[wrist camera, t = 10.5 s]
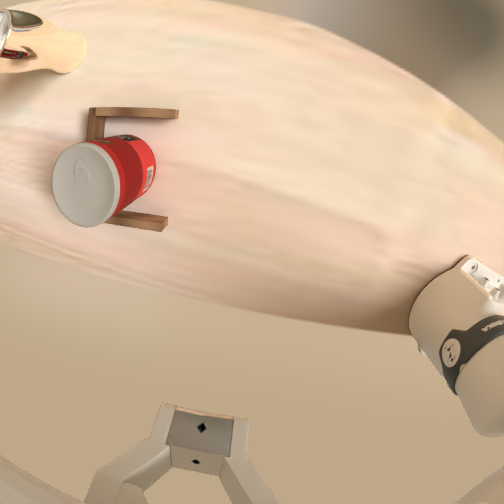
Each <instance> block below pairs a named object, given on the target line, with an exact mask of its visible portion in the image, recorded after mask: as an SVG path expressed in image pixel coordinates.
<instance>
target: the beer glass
mask: <svg viewBox="0 0 504 504" xmlns="http://www.w3.org/2000/svg"><path fill="white" fill-rule="evenodd" d="M86 50H87V41H86V38H85V36H84V35H83V34H82V33H80V32H75V31H64V30H61V29H60V28H58V27H57V26H55V25H54V24H52V23H51V22H49V21H48V20H46V19H44V18H42V17H40V16H38V15H35V14H32V13H29V12H24V11H18V10H9V9H0V73H21V72H27V71H33V70H39V69H50V70H53V71H55V72H57V73H61V74H65V73H69V72H71V71H73V70H74V69H75V68H76V67H77V66H78V65H79V64H80V63H81V62H82V60H83V58H84V56H85V53H86Z"/></svg>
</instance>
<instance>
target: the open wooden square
mask: <svg viewBox="0 0 504 504" xmlns="http://www.w3.org/2000/svg"><path fill="white" fill-rule="evenodd" d="M178 113H179V110H174V109H158V108H130V107H96V108H89V118H88V129H87V141H90V140H96V139H101V138H104V127H105V116H137V117H157V118H176V119H178ZM167 222H168V217H164V216H157V215H150V214H143V213H136V212H129V211H122V210H121V211H119V212H118V213H117V214H115V215H114V216H113V217H111V218H110V219H108V220H107V221H105V222H104V223H108V224H114V225H120V226H127V227H133V228H139V229H146V230H152V231H158V232H162V230H163V229H164V228H165V227H166V226H167Z"/></svg>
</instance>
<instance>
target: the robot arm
mask: <svg viewBox="0 0 504 504" xmlns="http://www.w3.org/2000/svg"><path fill="white" fill-rule="evenodd" d="M409 329H410V332H411V334H412V336H413V337H414V338H415V339H416V340H417V342H418V350H419V352H420V353H421V354H422V355H423V356H426V355H427V357H428V358H429V359H430V361H431V362H432V363H433V365H434V366H435V368H436V369H437V371H438V372H439V373H440V375H441V376H443V377H445V379H446V381H447V385H448V386H449V388H450V389H451V390H452V392H453V393H454V394H455V395H457V396H459V398H460V400H461V402H462V404H463V407H464V409H465V411H466V413H467V415H468V417H469V418H470V421H471V423H472V425H473V427H474V429H475V430H476V431H477V432H478V433H479V434H481V435H483V436H485V437H500V436H504V276H502V275H501V274H499V273H498V272H496V271H495V270H493V269H491V268H490V267H488V266H487V265H485V264H483V263H482V262H480V261H479V260H477V259H475V258H474V257H472V256H470V255H468V256H466V257H464V258H463V259H462V260H461V261H460V262H459V263H458V264H457V265H456V266H455V267H454V268H452V269H451V270H449V271H447V272H445V273H443V274H441V275H439V276H438V277H436V278H435V279H434V280H433V281H431V282H430V283H429V284H428V285H427V286H426V287H425V288H424V289H423V291H422V292H421V293H420V295H419V296H418V298H417V299H416V301H415V303H414V305H413V307H412V310H411V313H410V317H409ZM248 430H249V420H248V419H244V418H237V417H233V416H226V415H220V414H213V413H207V412H201V411H196V410H192V409H187V408H183V407H179V406H176V405H171V404H167V403H162V405H161V406H160V409H159V412H158V414H157V417H156V420H155V423H154V426H153V429H152V432H151V435H150V438H149V440H148V439H144V440H142V441H141V442H139V443H138V444H137V445H135V446H134V447H132V448H131V449H129V450H128V451H126V452H125V453H123V454H122V455H120V456H119V457H117V458H115V459H114V460H112V461H111V462H109V463H108V464H106V465H104V466H103V467H101V468H100V469H98V470H97V471H96V473H95V475H94V478H93V480H92V483H91V485H90V488H89V490H88V493H87V496H86V498H85V501H84V502H83V501H81V500H79V499H76V498H74V497H72V496H70V495H68V494H66V493H64V492H62V491H60V490H58V489H56V488H54V487H52V486H50V485H48V484H47V483H45V482H43V481H41V480H39V479H37V478H36V477H34V476H32V475H31V474H29V473H27V472H26V471H24V470H22V469H21V468H19V467H18V466H16V465H15V464H13V463H12V462H10V461H9V460H7V459H5V458H4V457H3V456H1V455H0V504H148V503H147V501H146V498H145V496H144V493H143V492H144V491H145V490H146V489H148V488H149V487H150V486H151V485H153V484H154V483H155V482H156V481H157V480H158V479H160V478H161V477H162V476H163V475H164V474H165V473H166V472H168V471H169V470H170V469H171V467H176V468H180V469H185V470H191V471H196V472H200V473H205V474H210V475H216V476H219V478H220V480H221V482H222V484H223V486H224V488H225V490H226V492H227V494H228V496H229V498H230V500H231V502H232V504H280V503H279V501H278V500H277V499H276V497H275V496H274V494H273V493H272V491H271V490H270V489H269V487H268V486H267V484H266V483H265V481H264V480H263V478H262V477H261V475H260V474H259V472H258V471H257V469H256V468H255V466H254V464H253V463H252V461H251V460H247V459H246V456H247V444H248ZM454 504H504V466H503V467H502V468H500V469H499V470H497V471H496V472H495V473H493V474H491V475H490V476H488V477H487V478H485V479H484V480H483V481H482V482H481V483H479V484H478V485H477V486H476V487H474V488H473V489H472V490H471V491H469V492H468V493H467V494H466V495H464V496H463V497H462V498H461V499H459V500H458V501H457V502H455V503H454Z"/></svg>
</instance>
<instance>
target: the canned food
mask: <svg viewBox="0 0 504 504" xmlns="http://www.w3.org/2000/svg"><path fill="white" fill-rule="evenodd" d="M155 170H156V163H155V158H154V154H153V152H152V150H151V149H150V147H149V146H148V145H147V144H146V143H145V142H144V141H143V140H142V139H140V138H138V137H136V136H133V135H120V136H113V137H107V138H101V139H96V140H90V141H85V142H81V143H77V144H75V145H72V146H70V147H68V148H67V149H66V150H64V151H63V152H62V153H61V155H60V156H59V157H58V159H57V161H56V163H55V166H54V169H53V174H52V190H53V195H54V198H55V201H56V204H57V206H58V208H59V209H60V211H61V212H62V214H63V215H64V216H65V217H66V218H67V219H68V220H69V221H71V222H72V223H74V224H76V225H78V226H81V227H95V226H98V225H100V224H102V223H104V222H105V221H107V220H108V219H110V218H111V217H113V216H114V215H115V214H117V213H118V212H119V211H121V210H122V209H123V208H125V207H126V206H128V205H129V204H130V203H132V202H133V201H135V200H136V199H137V198H139V197H140V196H142V195H143V194H144V193H145V192H146V191H147V190H148V189H149V188H150V186H151V184H152V182H153V179H154V176H155Z"/></svg>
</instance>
